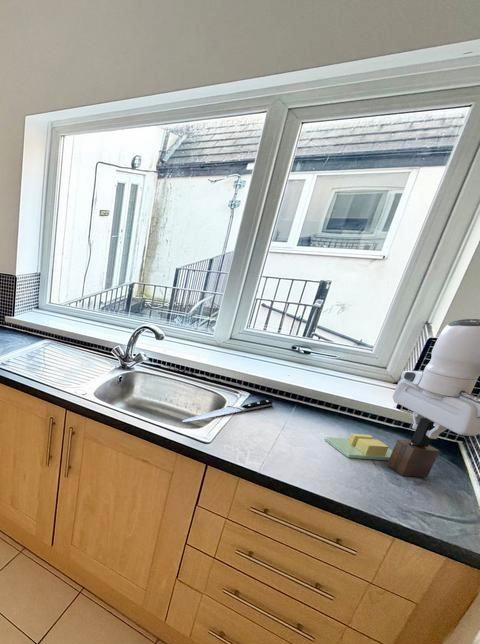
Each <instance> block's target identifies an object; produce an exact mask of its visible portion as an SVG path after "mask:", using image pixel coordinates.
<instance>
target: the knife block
mask: <svg viewBox="0 0 480 644" xmlns="http://www.w3.org/2000/svg"><path fill="white" fill-rule="evenodd" d="M411 440H412V439H397V440H396V442H395V445H394V447H393V449H392V454H391V456H390V458H389V460H387V461H388V462H387V463H386V466H387V467H389V468H390V469H392V470H394V471H395V472H396V473H398V474H399V475H401V476H405V477H416V478H417V477H418V478H428V477H429V475H430V473H431V471H432V468H433V466H434V464H435V462H436V460H437V458H438V456H439V453H440V450H439V449H437V448H436V447H434V446H432V445H431V444H429V446H428V447H422V446H411V444H414V443H412V442H411Z"/></svg>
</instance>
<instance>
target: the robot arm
mask: <svg viewBox="0 0 480 644" xmlns="http://www.w3.org/2000/svg"><path fill="white" fill-rule="evenodd" d="M430 357H431V358H430V360H429V362H428V363H427V364H426V365H425V367H424V369H423V370H403V371H402V373H401V374H400V377H401V379H400V380H399V381H398V382H397V384H396V386H395V389H394V391H393V394H392V399H393V402H394V403H395V404H397V405H400V406H402V407H404V408H406V409H408V410H409V411H412V413H411V417H412V421H413V424H412V426H411V429H412V430H414V431H415V430H416V428H417V426H418V424H419V421H420V419H421V418H427V419H429V420H431V421H433V422H435V423H434V425H433V426H435V428H433V429H432V430H427V431H426V433H425V436H427V437H429V438H431V440H438V438H439V436H440V434H441V433H443V432H445V431H447V430H449V431H451V432H453V433H455V434H457V435H459V436H467V437H474V436H477V435H479V434H480V396H476V395H473V394H472V392H473V390H474V388H475V386H476V383H477V381H478V379H479V377H480V319H479V318H464V319H458V320H453V321H450V322H449V323H448V324H446V325H445V327H444V328H443V329H442V330H441V332H440V334H439V336H438V337H437V339H436V341H435V343H434V345H433V348H432V350H431V356H430Z"/></svg>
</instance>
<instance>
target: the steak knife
mask: <svg viewBox="0 0 480 644" xmlns="http://www.w3.org/2000/svg"><path fill="white" fill-rule="evenodd" d="M273 405H274V404H273V400H271V399H260V400H258V401H254V402H250V403H246V404H243V405H242V406H234V405H226V406H224V407H222V408H220V409H216V410H215V409H214V410H212V411H209V412H206V413H201V414H199V415H195V416H192V417H189V418H185V419H183V420H181V422H182V423H188V422H189V423H190V422H195V421H201V420H207V419H211V418H216V417H222V416H226V415H230V414H234V413H239V412H248V413H249V412H254V411H260V410H265V409H269V408H270V409H271V408H273Z"/></svg>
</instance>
